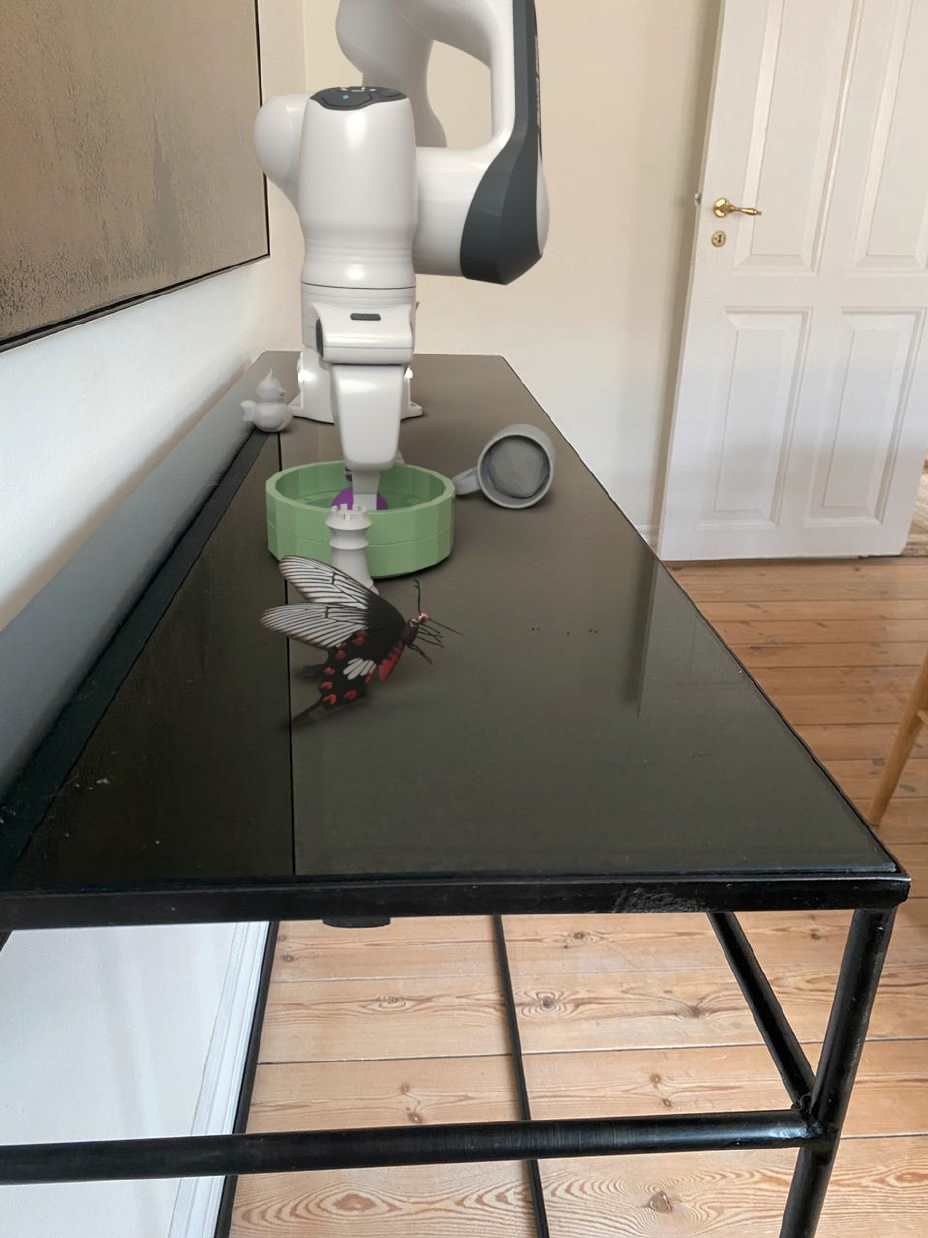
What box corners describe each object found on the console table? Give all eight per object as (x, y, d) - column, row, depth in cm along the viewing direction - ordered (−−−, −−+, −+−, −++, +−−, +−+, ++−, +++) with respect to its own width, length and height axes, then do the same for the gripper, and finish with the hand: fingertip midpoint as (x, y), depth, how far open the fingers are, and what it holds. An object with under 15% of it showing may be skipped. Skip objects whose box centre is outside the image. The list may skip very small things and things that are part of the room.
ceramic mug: (554, 489, 100) (558, 417, 97) (551, 511, 92) (556, 435, 89) (456, 483, 101) (458, 412, 98) (445, 505, 94) (446, 429, 90)
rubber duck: (294, 436, 117) (292, 371, 114) (240, 436, 116) (236, 370, 112) (293, 426, 122) (290, 364, 118) (241, 426, 120) (237, 363, 117)
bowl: (268, 524, 86) (266, 460, 83) (436, 521, 88) (438, 459, 86) (268, 589, 72) (265, 514, 69) (467, 582, 75) (470, 511, 72)
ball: (328, 533, 82) (327, 478, 79) (385, 531, 82) (385, 476, 80) (332, 554, 77) (330, 497, 75) (392, 552, 78) (392, 495, 76)
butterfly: (311, 777, 56) (187, 667, 52) (355, 685, 62) (247, 582, 59) (441, 712, 50) (310, 583, 47) (475, 618, 56) (363, 498, 53)
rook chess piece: (354, 632, 65) (354, 523, 62) (306, 616, 67) (302, 510, 64) (392, 611, 69) (393, 507, 65) (344, 597, 71) (343, 495, 68)
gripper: (312, 306, 81) (316, 462, 87) (324, 341, 63) (327, 535, 68) (384, 308, 82) (383, 461, 88) (417, 343, 64) (412, 533, 70)
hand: (359, 494), depth 78 cm, fingers open, 8 cm apart
